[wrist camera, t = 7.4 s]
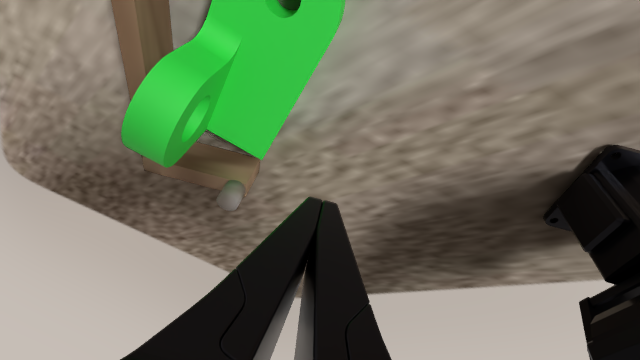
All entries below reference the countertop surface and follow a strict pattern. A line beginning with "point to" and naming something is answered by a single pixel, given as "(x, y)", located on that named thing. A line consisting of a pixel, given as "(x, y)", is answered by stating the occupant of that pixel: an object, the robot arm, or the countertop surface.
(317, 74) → the countertop surface
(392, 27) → the countertop surface
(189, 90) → the mechanical part
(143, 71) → the dock bracket
